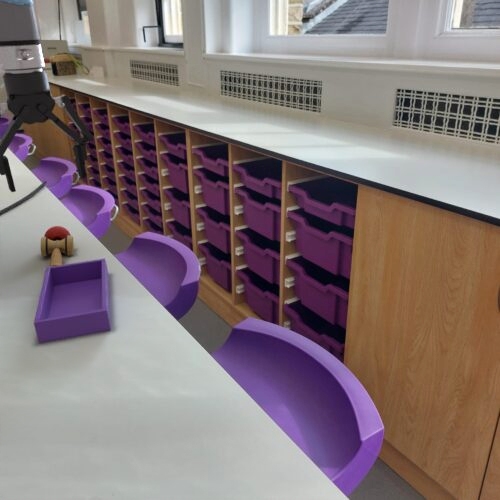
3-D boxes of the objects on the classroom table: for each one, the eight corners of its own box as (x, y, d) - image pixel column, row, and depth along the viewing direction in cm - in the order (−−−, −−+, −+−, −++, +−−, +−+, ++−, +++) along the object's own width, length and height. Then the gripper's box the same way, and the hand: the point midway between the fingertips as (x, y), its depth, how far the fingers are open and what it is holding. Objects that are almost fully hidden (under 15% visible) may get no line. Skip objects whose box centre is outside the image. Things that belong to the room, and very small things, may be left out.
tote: (51, 287, 100) (46, 267, 98) (109, 277, 103) (105, 258, 101) (39, 346, 81) (33, 323, 79) (111, 333, 84) (106, 310, 82)
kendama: (81, 277, 106) (78, 237, 121) (69, 254, 102) (68, 216, 117) (45, 289, 105) (47, 247, 119) (32, 266, 101) (36, 225, 116)
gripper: (-52, 78, 80) (-17, 201, 89) (97, 66, 92) (115, 175, 101) (-56, 75, 85) (-23, 191, 94) (85, 65, 98) (103, 168, 107)
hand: (48, 183), depth 98 cm, fingers open, 13 cm apart
